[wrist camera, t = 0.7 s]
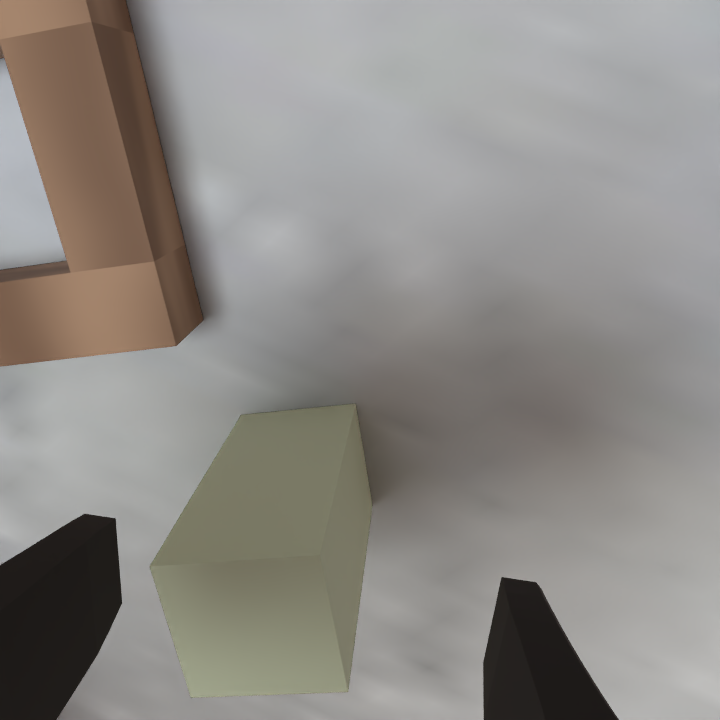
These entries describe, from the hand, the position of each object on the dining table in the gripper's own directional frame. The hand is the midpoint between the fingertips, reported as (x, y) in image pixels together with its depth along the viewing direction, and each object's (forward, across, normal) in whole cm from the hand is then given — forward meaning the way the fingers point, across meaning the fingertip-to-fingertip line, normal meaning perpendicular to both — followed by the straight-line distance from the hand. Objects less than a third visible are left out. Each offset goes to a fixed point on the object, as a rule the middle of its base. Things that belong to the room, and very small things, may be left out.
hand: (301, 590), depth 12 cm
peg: (+10, +2, +4) cm, 11 cm away
